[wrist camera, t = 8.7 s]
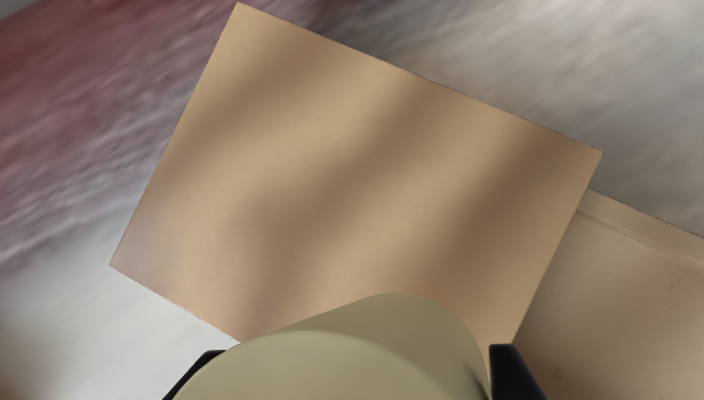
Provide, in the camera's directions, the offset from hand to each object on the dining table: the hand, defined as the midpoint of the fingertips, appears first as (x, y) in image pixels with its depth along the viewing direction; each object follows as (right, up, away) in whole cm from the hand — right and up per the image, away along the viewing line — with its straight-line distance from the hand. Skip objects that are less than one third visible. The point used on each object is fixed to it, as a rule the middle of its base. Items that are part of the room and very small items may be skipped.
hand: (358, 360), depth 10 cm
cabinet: (0, +2, +14) cm, 14 cm away
